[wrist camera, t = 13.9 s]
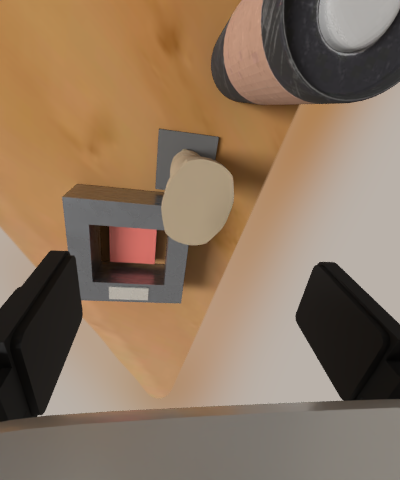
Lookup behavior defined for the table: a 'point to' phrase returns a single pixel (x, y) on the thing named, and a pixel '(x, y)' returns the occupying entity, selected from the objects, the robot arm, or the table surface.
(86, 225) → the grey shallow box
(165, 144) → the mat
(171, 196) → the handle
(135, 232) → the button
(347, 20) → the travel mug
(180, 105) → the table surface
